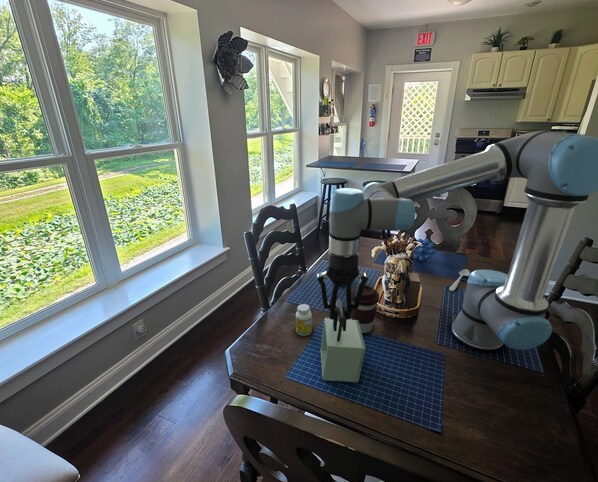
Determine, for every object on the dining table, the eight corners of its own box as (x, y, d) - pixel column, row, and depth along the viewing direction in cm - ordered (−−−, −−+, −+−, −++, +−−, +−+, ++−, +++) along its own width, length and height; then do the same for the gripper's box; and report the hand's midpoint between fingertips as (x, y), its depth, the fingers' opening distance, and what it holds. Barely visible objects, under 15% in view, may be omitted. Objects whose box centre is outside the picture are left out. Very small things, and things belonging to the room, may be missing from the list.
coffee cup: (376, 338, 105) (380, 299, 100) (346, 334, 107) (348, 296, 101) (376, 319, 114) (379, 283, 109) (348, 316, 116) (349, 280, 110)
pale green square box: (362, 297, 92) (327, 295, 92) (370, 324, 81) (331, 321, 81) (352, 351, 100) (320, 349, 100) (358, 382, 89) (322, 380, 89)
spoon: (471, 273, 144) (472, 270, 143) (456, 292, 130) (456, 289, 129) (461, 270, 146) (462, 267, 146) (445, 289, 132) (446, 285, 131)
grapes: (436, 261, 155) (440, 238, 150) (430, 266, 150) (434, 243, 146) (413, 254, 162) (416, 232, 158) (407, 259, 158) (410, 236, 153)
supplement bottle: (314, 333, 108) (314, 309, 104) (300, 338, 106) (299, 314, 102) (307, 324, 113) (307, 301, 109) (293, 328, 110) (292, 305, 107)
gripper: (370, 245, 83) (363, 319, 92) (313, 245, 83) (312, 319, 93) (376, 257, 76) (368, 337, 85) (314, 257, 76) (312, 336, 86)
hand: (339, 327), depth 89 cm, fingers closed on pale green square box, 2 cm apart
